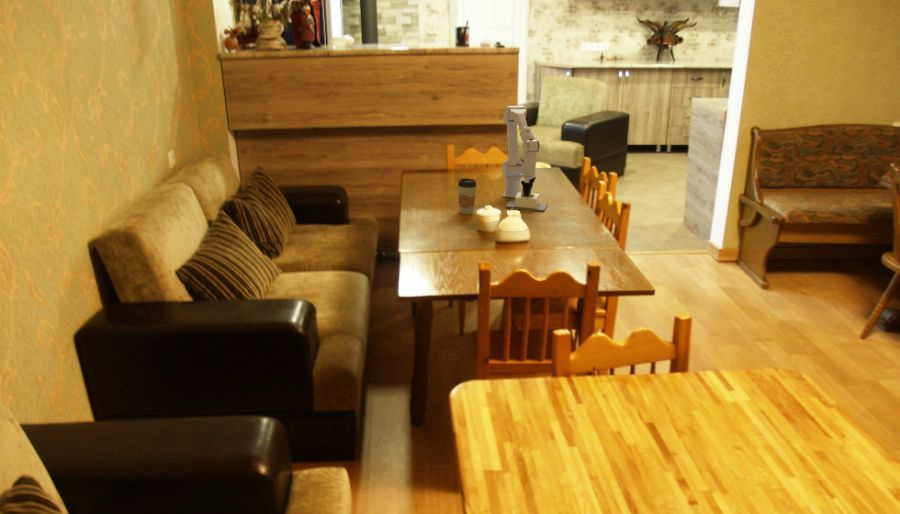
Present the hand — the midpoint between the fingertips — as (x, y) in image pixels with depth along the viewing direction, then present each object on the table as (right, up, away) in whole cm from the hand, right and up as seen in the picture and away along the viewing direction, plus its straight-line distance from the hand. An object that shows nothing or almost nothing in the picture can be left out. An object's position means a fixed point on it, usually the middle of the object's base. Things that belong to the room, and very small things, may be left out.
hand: (527, 194), depth 324 cm
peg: (-1, -5, +2) cm, 5 cm away
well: (0, -6, +2) cm, 6 cm away
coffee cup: (-29, -10, -9) cm, 32 cm away
